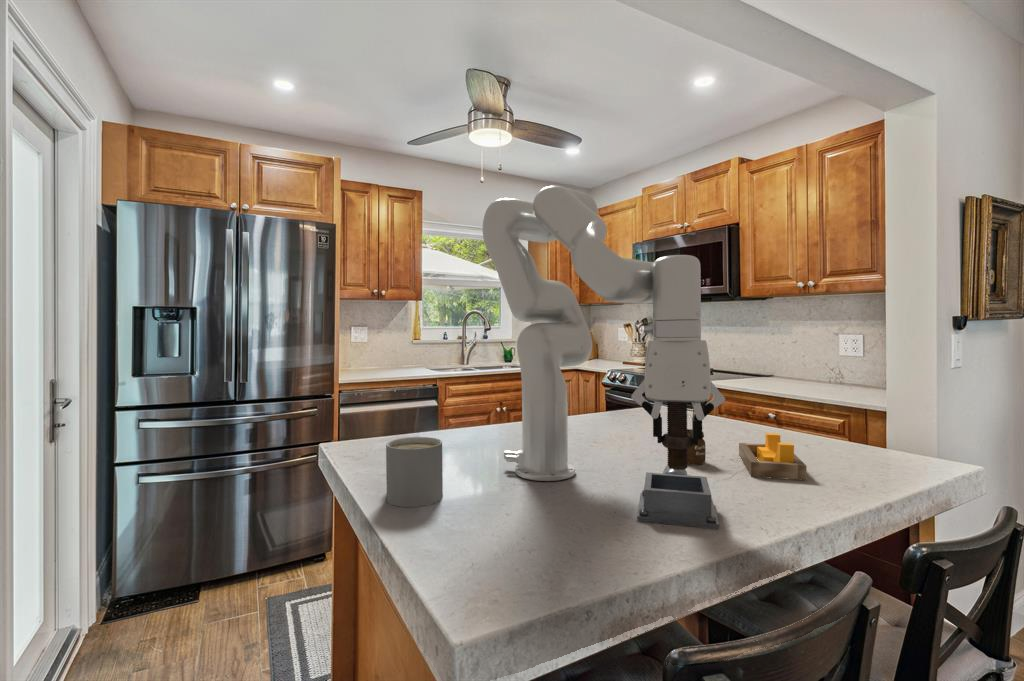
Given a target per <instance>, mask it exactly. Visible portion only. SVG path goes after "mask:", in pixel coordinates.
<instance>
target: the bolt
mask: <svg viewBox="0 0 1024 681" xmlns="http://www.w3.org/2000/svg"><path fill="white" fill-rule="evenodd" d="M683 383H685V381H682V384H683ZM683 386H685V385H683ZM683 386H682V387H683ZM666 408H667V409H666V411H667V412H666V413H667V414H666V418H667V419H666V421H667V422H666V423H667V424H666V427H667V428H666V429H667V432H666V433H664V434H662V442H661V444H662V446H663V447H664V448H667V450H666V451H667V455H666V456H667V460H666V461H667V462H666V463H667V465H666V466H669V468H670V469H671V468H673V469H674V470H683V469H685V470H687V469H688V465H689V464H688V463H687V462H688V461H687V460H688V459H687V458H688V457H687V449H690V448H691V447H692V446H693V438H692V436H691V435H688V434H687V433H688V432H687V431H688V430H687V429H688V402H666Z"/></svg>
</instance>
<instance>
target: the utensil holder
mask: <svg viewBox="0 0 1024 681" xmlns="http://www.w3.org/2000/svg"><path fill="white" fill-rule="evenodd" d="M692 409H693V410H692V415H690V414H688V418H689V420H691V419H692V418H693V417H694V414H695V411H694V408H692ZM690 417H691V418H690ZM687 430H688V431H687V432H688V433H687V434H688V435H691V436H692V426H691V425H689V429H688V428H687ZM704 438H705V434H704V431H703V430H702V439H698V445H694V444H693V446H692V447H691V448H690V449H687V457H688V458H687V459H688V460H687V461H688V462H687V463H688V465H690V466H700V465H703V464H705V462H706V455H707V454H706V451H707V450H706V441H705V439H704Z"/></svg>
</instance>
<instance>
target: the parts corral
mask: <svg viewBox="0 0 1024 681" xmlns="http://www.w3.org/2000/svg"><path fill="white" fill-rule="evenodd" d="M757 447H765V444H762V443H746V442H739V443H738V457H739V456H740V457H741V458H740V457H739V458H740V460H741V459H742V460H741V462H742V461H743V462H742V463H743V466H744V467H745V466H746V467H745V468H747V469H746V470H747V472H748V474H749V475H751V476H750V477H751V478H763V477H771V478H770V479H777V478H788V479H787V480H790V479H802V480H801V481H804V480H806V481H807V465H806V464H805V463H804V462H803V461H802V460H801V458H799V457H798V456H797V455H796V454H795V453H794V463H786V462H770V461H758V460H757V458H756V457H757Z"/></svg>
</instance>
